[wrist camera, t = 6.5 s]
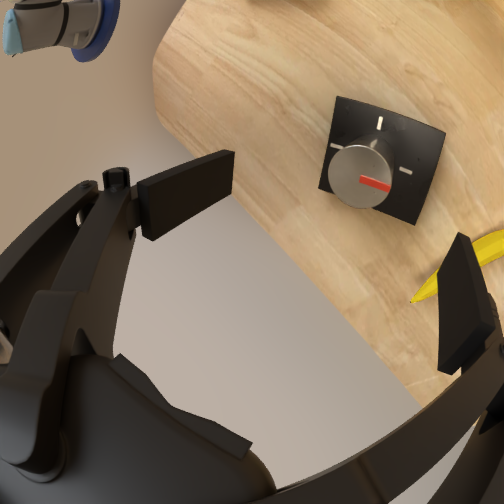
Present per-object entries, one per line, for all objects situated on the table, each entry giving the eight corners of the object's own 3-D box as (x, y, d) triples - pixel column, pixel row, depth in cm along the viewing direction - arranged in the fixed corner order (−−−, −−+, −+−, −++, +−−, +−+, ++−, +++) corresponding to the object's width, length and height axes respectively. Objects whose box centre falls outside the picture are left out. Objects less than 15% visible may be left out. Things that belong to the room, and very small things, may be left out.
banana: (407, 271, 32) (404, 301, 27) (524, 205, 19) (544, 227, 14) (416, 287, 32) (414, 318, 27) (530, 225, 19) (548, 250, 14)
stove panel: (323, 183, 32) (317, 189, 30) (341, 96, 26) (336, 95, 24) (414, 217, 28) (414, 226, 26) (442, 131, 22) (446, 133, 20)
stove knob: (344, 171, 28) (321, 198, 21) (353, 128, 25) (333, 137, 18) (387, 186, 26) (380, 219, 19) (399, 143, 23) (399, 158, 16)
